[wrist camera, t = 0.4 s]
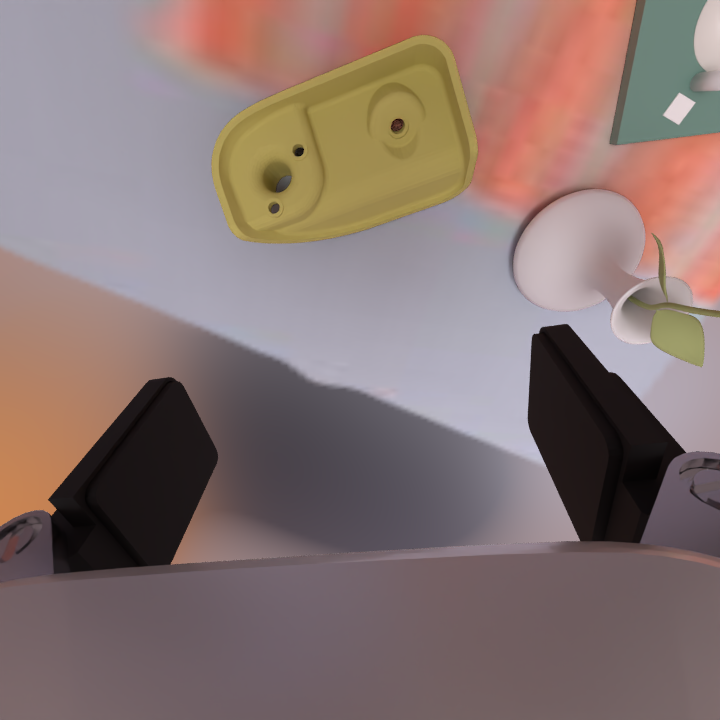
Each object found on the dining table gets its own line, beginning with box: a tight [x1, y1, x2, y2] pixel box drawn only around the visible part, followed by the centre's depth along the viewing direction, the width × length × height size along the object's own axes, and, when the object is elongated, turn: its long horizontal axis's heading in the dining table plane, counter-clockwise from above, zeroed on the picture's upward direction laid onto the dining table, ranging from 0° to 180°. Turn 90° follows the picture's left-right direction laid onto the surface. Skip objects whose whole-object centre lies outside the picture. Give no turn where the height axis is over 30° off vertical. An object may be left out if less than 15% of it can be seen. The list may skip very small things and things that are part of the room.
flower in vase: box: [513, 189, 720, 367], centre depth 27 cm, size 13×11×25 cm
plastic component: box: [211, 35, 478, 243], centre depth 33 cm, size 20×7×10 cm
